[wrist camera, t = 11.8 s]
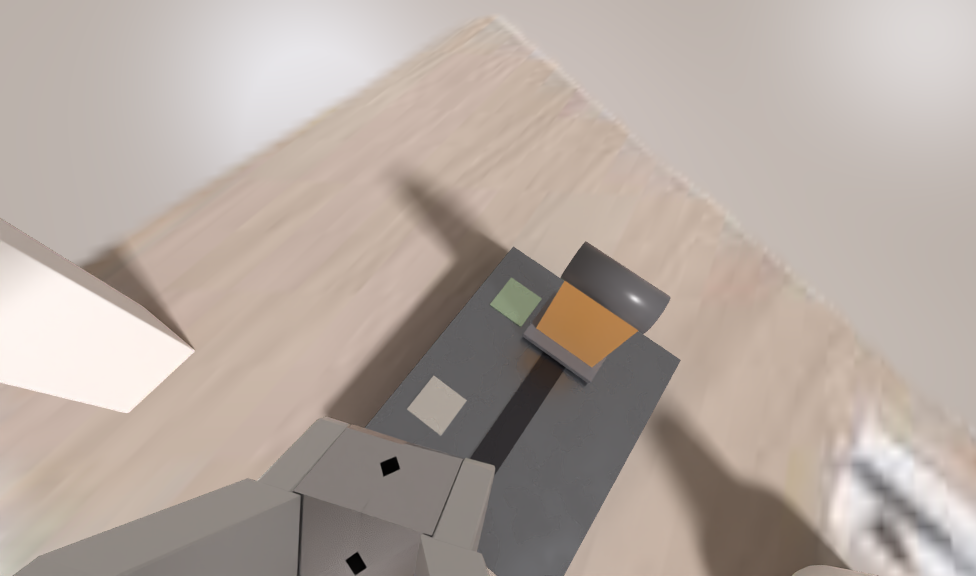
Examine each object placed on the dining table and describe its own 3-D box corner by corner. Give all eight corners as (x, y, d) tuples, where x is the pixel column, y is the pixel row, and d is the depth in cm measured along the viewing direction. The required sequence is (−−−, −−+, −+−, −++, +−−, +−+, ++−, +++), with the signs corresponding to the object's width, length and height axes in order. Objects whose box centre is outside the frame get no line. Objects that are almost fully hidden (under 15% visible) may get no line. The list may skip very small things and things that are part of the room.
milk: (129, 414, 33) (-354, 306, 13) (73, 364, 34) (-457, 190, 14) (198, 349, 35) (-122, 171, 15) (144, 304, 36) (-224, 80, 16)
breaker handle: (588, 383, 34) (651, 339, 24) (522, 336, 35) (555, 275, 25) (617, 338, 35) (686, 279, 26) (552, 294, 36) (595, 221, 27)
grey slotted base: (533, 602, 31) (543, 613, 28) (353, 453, 33) (345, 450, 31) (663, 369, 38) (681, 359, 36) (508, 262, 41) (513, 245, 38)
